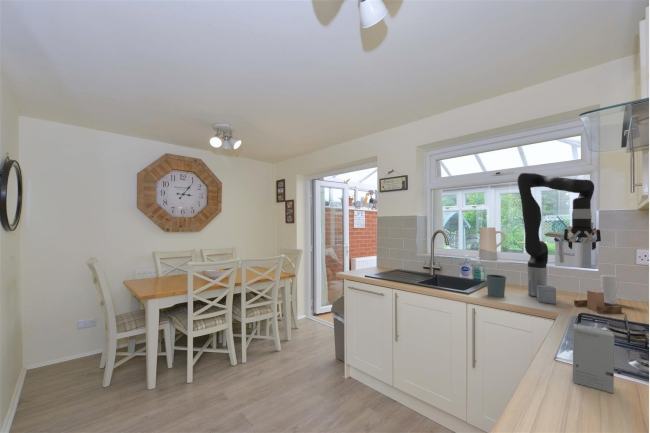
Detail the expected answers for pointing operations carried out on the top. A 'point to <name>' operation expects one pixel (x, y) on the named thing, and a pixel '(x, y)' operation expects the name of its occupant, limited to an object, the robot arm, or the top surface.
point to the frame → (601, 307)
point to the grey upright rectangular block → (593, 357)
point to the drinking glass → (609, 288)
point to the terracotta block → (595, 299)
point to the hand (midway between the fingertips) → (581, 249)
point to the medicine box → (546, 294)
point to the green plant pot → (496, 285)
